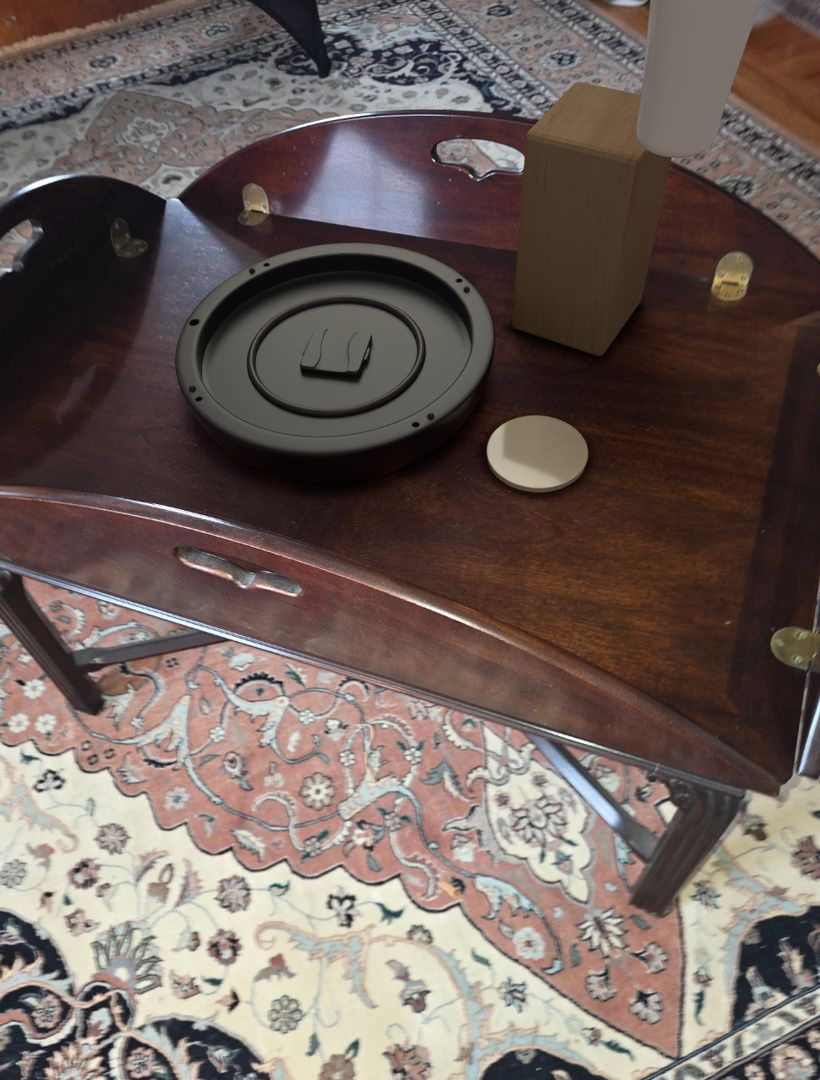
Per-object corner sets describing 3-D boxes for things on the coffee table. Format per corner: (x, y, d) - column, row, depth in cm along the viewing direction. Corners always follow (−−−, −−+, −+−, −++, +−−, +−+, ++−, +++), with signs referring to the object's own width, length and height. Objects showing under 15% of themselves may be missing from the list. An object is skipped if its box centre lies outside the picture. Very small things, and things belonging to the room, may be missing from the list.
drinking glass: (666, 179, 57) (727, -101, 45) (603, 134, 61) (643, -137, 48) (747, 147, 59) (828, -133, 46) (681, 105, 62) (740, -165, 50)
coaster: (590, 424, 81) (591, 420, 80) (583, 497, 76) (584, 493, 75) (493, 415, 82) (493, 411, 82) (479, 486, 77) (480, 482, 77)
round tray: (509, 298, 92) (238, 280, 97) (513, 247, 87) (227, 230, 92) (469, 515, 76) (146, 479, 81) (470, 467, 71) (126, 432, 76)
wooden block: (642, 302, 90) (685, 101, 74) (601, 359, 86) (638, 159, 69) (553, 275, 94) (575, 78, 77) (509, 329, 89) (523, 132, 73)
